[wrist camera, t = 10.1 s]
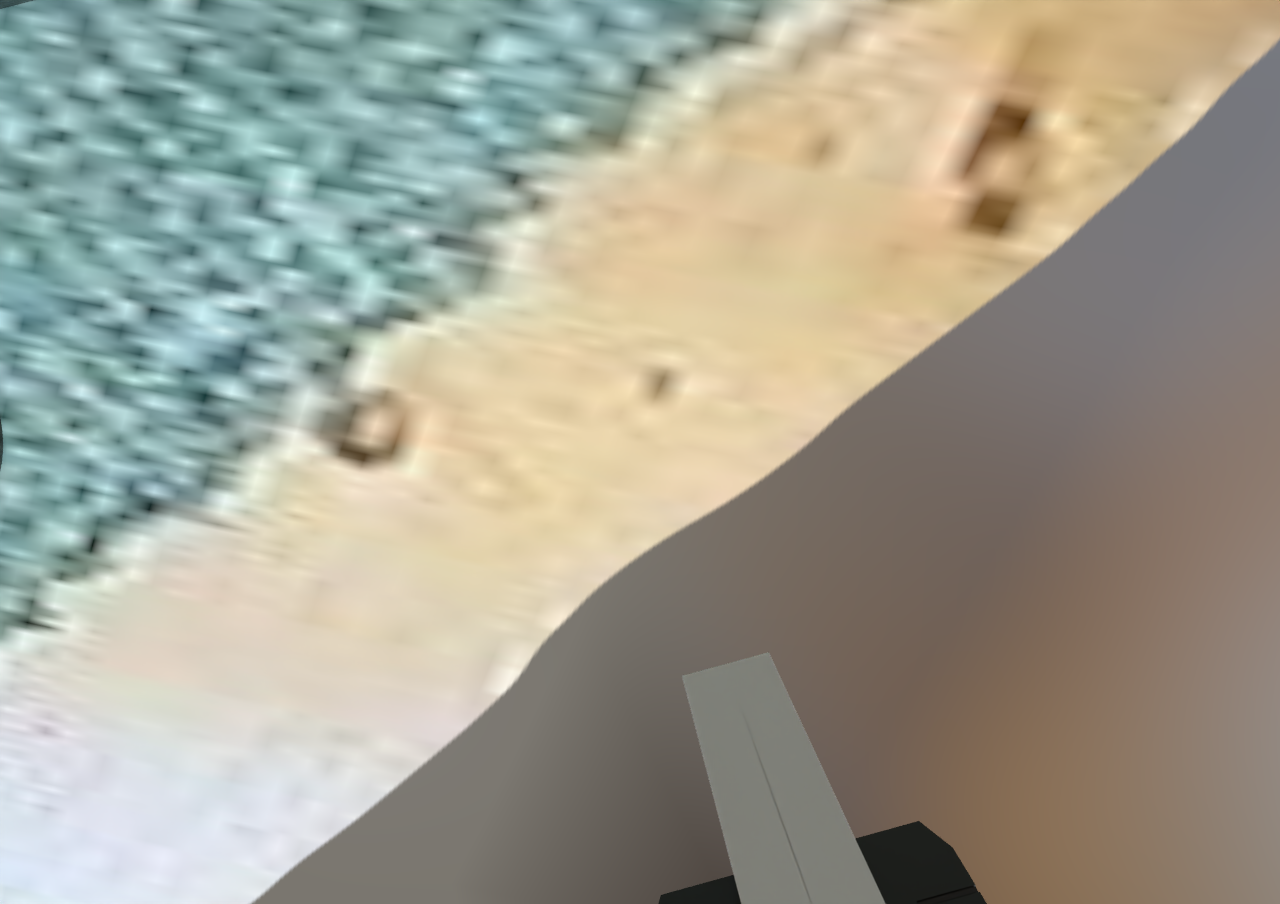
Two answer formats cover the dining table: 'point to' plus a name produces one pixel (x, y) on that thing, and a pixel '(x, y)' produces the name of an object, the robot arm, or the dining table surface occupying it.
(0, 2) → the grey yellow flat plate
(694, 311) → the dining table surface
